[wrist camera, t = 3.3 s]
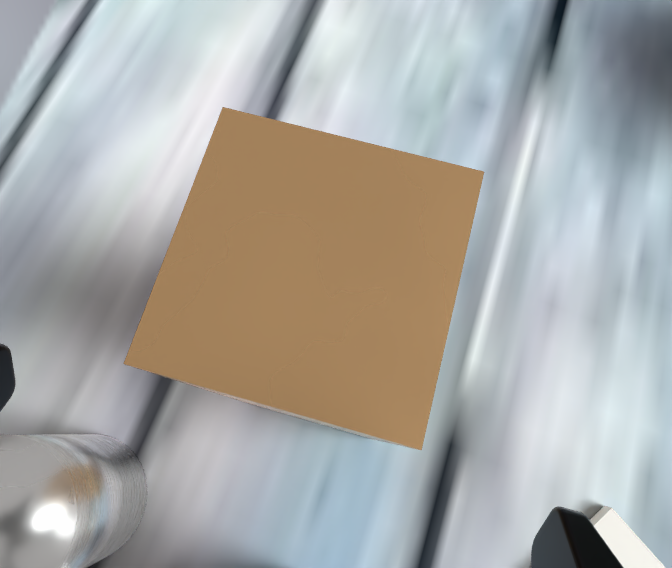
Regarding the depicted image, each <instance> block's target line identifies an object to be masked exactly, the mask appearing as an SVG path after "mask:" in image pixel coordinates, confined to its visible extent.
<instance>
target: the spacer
mask: <svg viewBox="0 0 672 568" xmlns="http://www.w3.org/2000/svg"><path fill="white" fill-rule="evenodd" d="M146 500H147V482H146V476H145V472H144V469H143V467H142V464H141V462H140V461H139V459H138V457H137V456H136V455H135V453H134V452H133V451H132V450H131V449H130V448H129V447H128V446H127V445H126V444H124V443H123V442H121V441H119V440H117V439H115V438H113V437H110V436H107V435H101V434H44V435H0V568H87V567H89V566H91V565H93V564H94V563H96V562H98V561H100V560H102V559H104V558H105V557H107V556H109V555H111V554H113V553H114V552H115V551H117V550H118V549H119V548H121V547H122V546H123V545H124V544H125V543H126V542H127V541H128V540H129V538H130V537H131V536H132V535H133V533H134V532H135V530H136V529H137V527H138V525H139V523H140V521H141V519H142V516H143V513H144V510H145V506H146Z"/></svg>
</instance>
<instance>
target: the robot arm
mask: <svg viewBox="0 0 672 568" xmlns="http://www.w3.org/2000/svg"><path fill="white" fill-rule="evenodd" d="M14 389H15V375H14V369H13V363H12V356H11V352H10V349H9V348H8V347H7V346H5V345H3V344H0V411H1V410H2V409H3V407H4V406H5V405H6V403H7V402H8V401H9V399H10V398H11V396H12V394H13V392H14ZM531 568H624V567H623V566H622V565H621V563H620V562H619V561H618V559H617V558H616V556H615V555H614V554H613V552H612V551H611V549H610V548H609V547H608V545H607V544H606V542H605V541H604V540H603V538H602V537H601V536H600V534H599V533H598V531H597V530H596V529H595V527H594V526H593V524H592V523H591V522H590V520H589V519H588V518H587V517H586V516H585V515H584V514H582V513H580V512H577V511H574V510H570V509H567V508H564V507H555V508H554V509H553V510H552V511H551V512H550V514H549V516H548V517H547V519H546V520H545V522H544V524H543V525H542V527H541V528H540V530H539V532H538V533H537V535H536V537H535V539H534V541H533V545H532V554H531Z"/></svg>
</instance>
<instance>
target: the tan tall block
mask: <svg viewBox="0 0 672 568" xmlns="http://www.w3.org/2000/svg"><path fill="white" fill-rule="evenodd" d="M483 175H484V172H483V171H479V170H475V169H471V168H467V167H463V166H459V165H455V164H451V163H447V162H443V161H439V160H435V159H431V158H427V157H423V156H419V155H414V154H410V153H406V152H402V151H398V150H394V149H390V148H386V147H382V146H378V145H374V144H370V143H366V142H362V141H358V140H354V139H350V138H346V137H342V136H338V135H334V134H330V133H326V132H322V131H317V130H313V129H309V128H305V127H301V126H297V125H293V124H289V123H285V122H281V121H277V120H273V119H269V118H265V117H261V116H257V115H253V114H249V113H245V112H241V111H237V110H233V109H229V108H225V107H223V108H222V111H221V113H220V116H219V118H218V121H217V124H216V126H215V129H214V131H213V134H212V136H211V139H210V142H209V144H208V147H207V149H206V152H205V155H204V157H203V160H202V162H201V165H200V168H199V170H198V173H197V175H196V178H195V180H194V183H193V186H192V188H191V191H190V193H189V196H188V199H187V201H186V204H185V206H184V209H183V211H182V214H181V217H180V219H179V222H178V224H177V227H176V230H175V232H174V235H173V237H172V240H171V242H170V245H169V248H168V250H167V253H166V255H165V258H164V261H163V263H162V266H161V268H160V271H159V273H158V276H157V279H156V281H155V284H154V286H153V289H152V292H151V294H150V297H149V299H148V302H147V304H146V307H145V310H144V312H143V315H142V317H141V320H140V323H139V325H138V328H137V330H136V333H135V335H134V338H133V341H132V343H131V346H130V348H129V351H128V354H127V356H126V359H125V361H124V364H125V365H129V366H132V367H135V368H138V369H141V370H144V371H148V372H151V373H154V374H157V375H160V376H163V377H167V378H170V379H173V380H176V381H179V382H182V383H186V384H189V385H192V386H195V387H198V388H201V389H205V390H208V391H211V392H214V393H217V394H220V395H224V396H227V397H230V398H233V399H236V400H239V401H243V402H246V403H249V404H252V405H256V406H259V407H263V408H266V409H270V410H273V411H277V412H280V413H283V414H287V415H290V416H294V417H297V418H301V419H304V420H308V421H311V422H314V423H318V424H321V425H325V426H328V427H332V428H335V429H339V430H342V431H345V432H349V433H352V434H356V435H359V436H363V437H366V438H370V439H374V440H378V441H382V442H387V443H391V444H396V445H400V446H405V447H409V448H414V449H418V450H422V445H423V441H424V437H425V432H426V428H427V423H428V419H429V414H430V410H431V406H432V401H433V397H434V392H435V388H436V383H437V379H438V374H439V370H440V366H441V361H442V357H443V352H444V348H445V343H446V339H447V335H448V330H449V326H450V321H451V317H452V312H453V308H454V303H455V299H456V295H457V290H458V286H459V281H460V277H461V272H462V268H463V264H464V259H465V255H466V250H467V246H468V241H469V237H470V232H471V228H472V224H473V219H474V215H475V210H476V206H477V201H478V197H479V193H480V188H481V184H482V179H483Z"/></svg>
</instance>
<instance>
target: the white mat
mask: <svg viewBox="0 0 672 568" xmlns="http://www.w3.org/2000/svg"><path fill="white" fill-rule="evenodd" d="M590 522H591V523H592V524H593V526H594V527H595V529H596V530H597V531H598V533H599V534H600V536H601V537H602V538H603V540H604V541H605V542H606V544H607V545H608V547H609V548H610V549H611V551H612V552H613V554H614V555H615V556H616V558H617V559H618V561H619V562H620V563H621V565H622V566H623V567H624V568H665V567H664V566H663V564H662V563H661V562H660V561H659V560H658V559H657V558H656V557H655V555H654V554H653V553H652V552H651V551H650V550H649V549H648V548H647V547H646V545H645V544H644V543H643V542H642V541H641V540H640V539H639V538H638V536H637V535H636V534H635V533H634V532H633V531H632V530H631V529H630V527H629V526H628V525H627V524H626V523H625V522H624V521H623V520H622V519H621V517H620V516H619V515H618V514H617V513H616V512H615V511H614V510H613V508H611V507H607V506H603V507H602V508H601V509H600V510H599V511H598V512H597V513H596V514H595V515H594V516H593V517H592V518H591V519H590Z"/></svg>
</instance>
